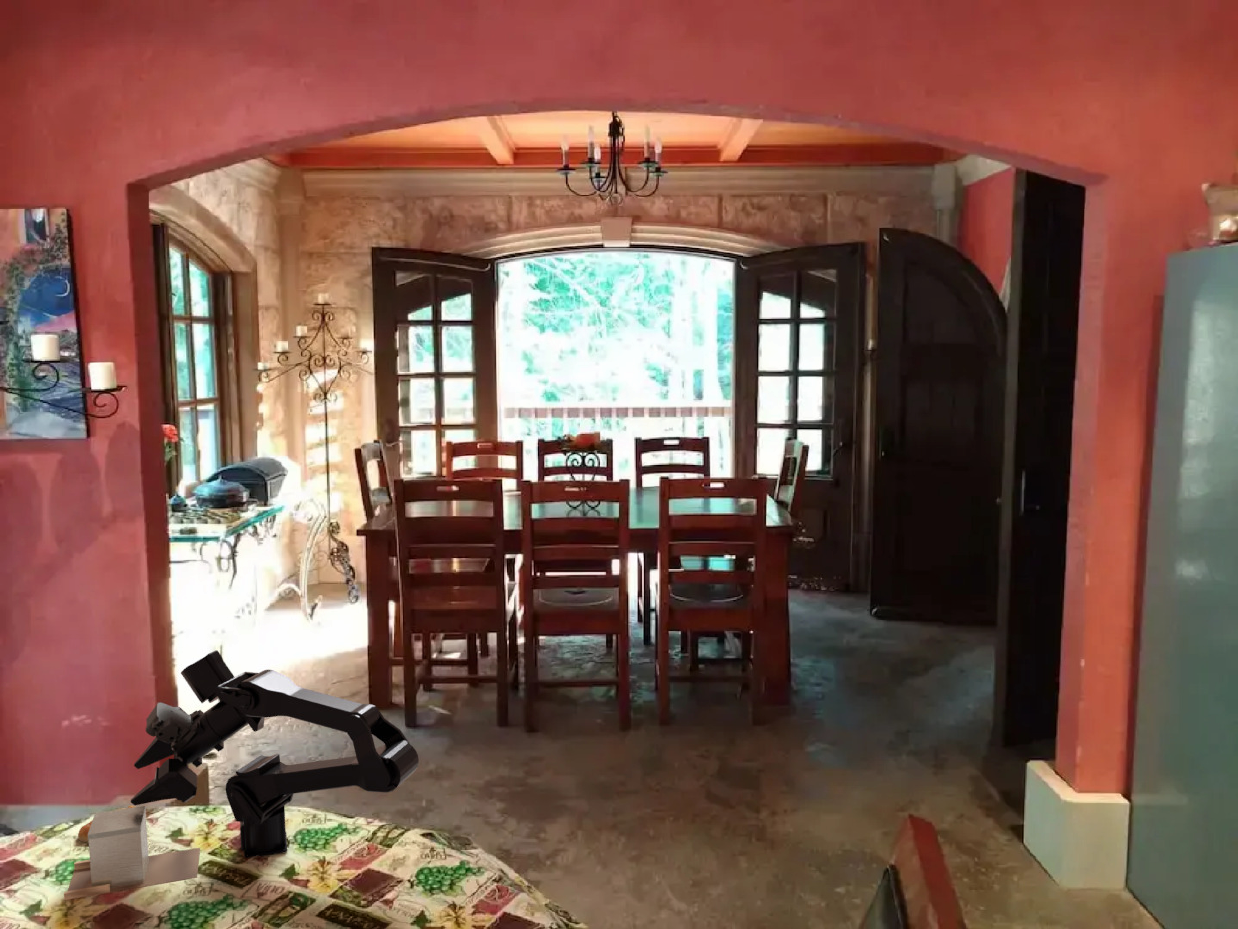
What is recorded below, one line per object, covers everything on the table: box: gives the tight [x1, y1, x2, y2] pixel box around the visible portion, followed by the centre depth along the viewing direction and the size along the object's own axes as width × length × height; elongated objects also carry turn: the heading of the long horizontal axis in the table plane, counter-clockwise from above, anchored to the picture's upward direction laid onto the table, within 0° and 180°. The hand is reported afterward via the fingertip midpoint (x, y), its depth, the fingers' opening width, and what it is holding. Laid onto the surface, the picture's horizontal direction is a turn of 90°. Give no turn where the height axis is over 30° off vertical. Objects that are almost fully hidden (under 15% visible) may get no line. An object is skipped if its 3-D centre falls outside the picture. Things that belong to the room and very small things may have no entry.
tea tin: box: [88, 805, 149, 888], centre depth 151 cm, size 7×7×9 cm
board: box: [63, 847, 201, 901], centre depth 152 cm, size 18×9×1 cm, turn 110°
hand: (134, 784), depth 157 cm, fingers open, 9 cm apart
